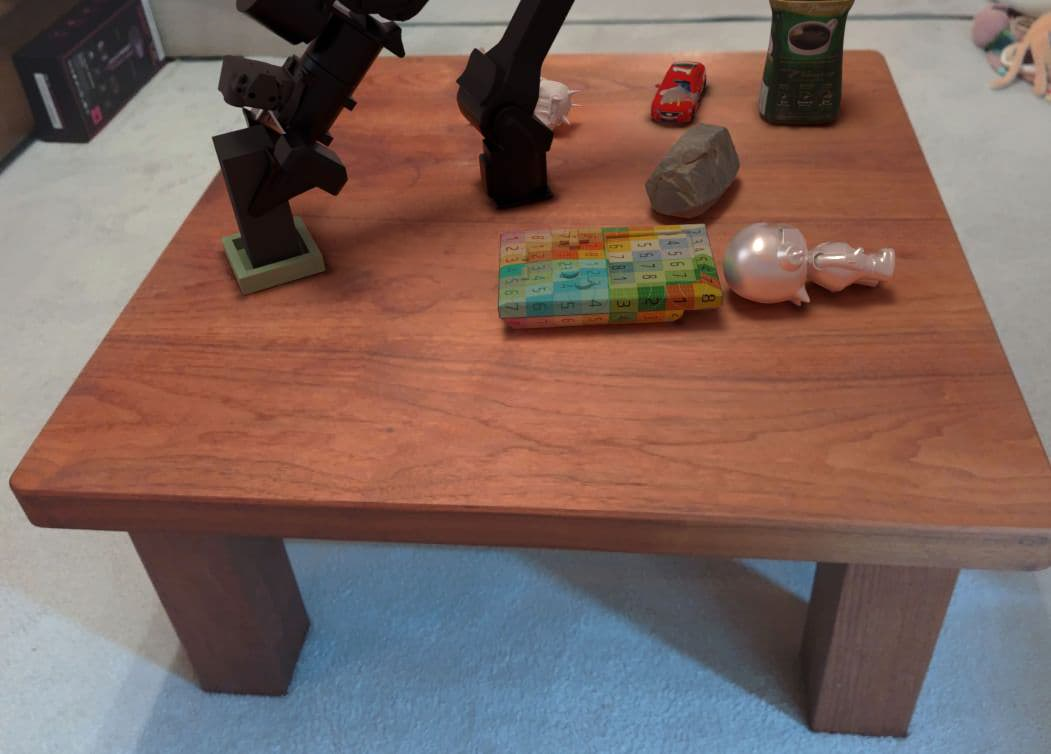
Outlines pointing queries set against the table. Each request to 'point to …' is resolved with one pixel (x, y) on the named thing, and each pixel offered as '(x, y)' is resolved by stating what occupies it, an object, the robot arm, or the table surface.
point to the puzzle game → (605, 275)
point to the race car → (679, 92)
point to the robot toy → (552, 101)
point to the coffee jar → (804, 61)
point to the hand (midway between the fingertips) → (245, 203)
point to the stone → (694, 172)
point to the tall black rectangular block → (242, 175)
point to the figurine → (797, 264)
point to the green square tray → (275, 272)
